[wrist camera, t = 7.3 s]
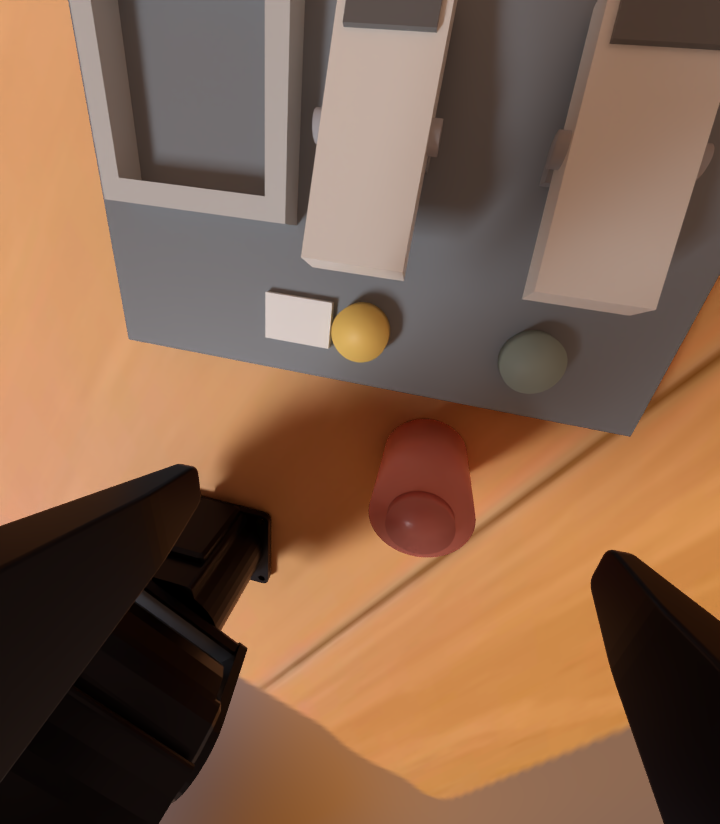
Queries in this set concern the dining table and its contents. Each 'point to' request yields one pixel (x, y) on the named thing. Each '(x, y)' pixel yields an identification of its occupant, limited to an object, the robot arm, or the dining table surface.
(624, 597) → the robot arm
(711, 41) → the breaker
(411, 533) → the cap
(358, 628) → the dining table surface
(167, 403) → the dining table surface
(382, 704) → the dining table surface
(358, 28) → the block
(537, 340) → the panel
